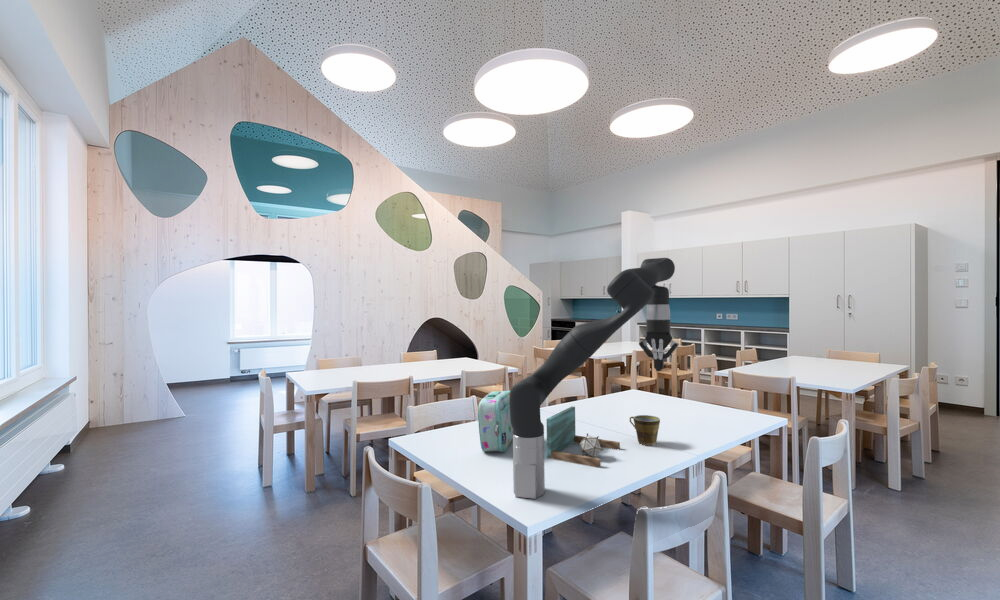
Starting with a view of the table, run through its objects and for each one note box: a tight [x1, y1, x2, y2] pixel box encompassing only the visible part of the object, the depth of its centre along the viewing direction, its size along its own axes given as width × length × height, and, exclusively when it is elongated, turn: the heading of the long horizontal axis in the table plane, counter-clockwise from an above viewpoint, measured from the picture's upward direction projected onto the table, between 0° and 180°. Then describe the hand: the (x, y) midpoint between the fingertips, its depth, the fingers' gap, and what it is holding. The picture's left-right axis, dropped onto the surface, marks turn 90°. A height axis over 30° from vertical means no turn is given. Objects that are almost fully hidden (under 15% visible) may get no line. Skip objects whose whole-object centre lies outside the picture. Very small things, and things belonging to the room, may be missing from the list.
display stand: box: [546, 406, 621, 468], centre depth 168 cm, size 20×23×14 cm
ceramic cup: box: [629, 414, 661, 447], centre depth 179 cm, size 13×10×10 cm
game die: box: [576, 432, 605, 458], centre depth 163 cm, size 9×8×10 cm
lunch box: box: [477, 389, 513, 453], centre depth 178 cm, size 27×10×21 cm, turn 168°
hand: (659, 370), depth 149 cm, fingers closed
